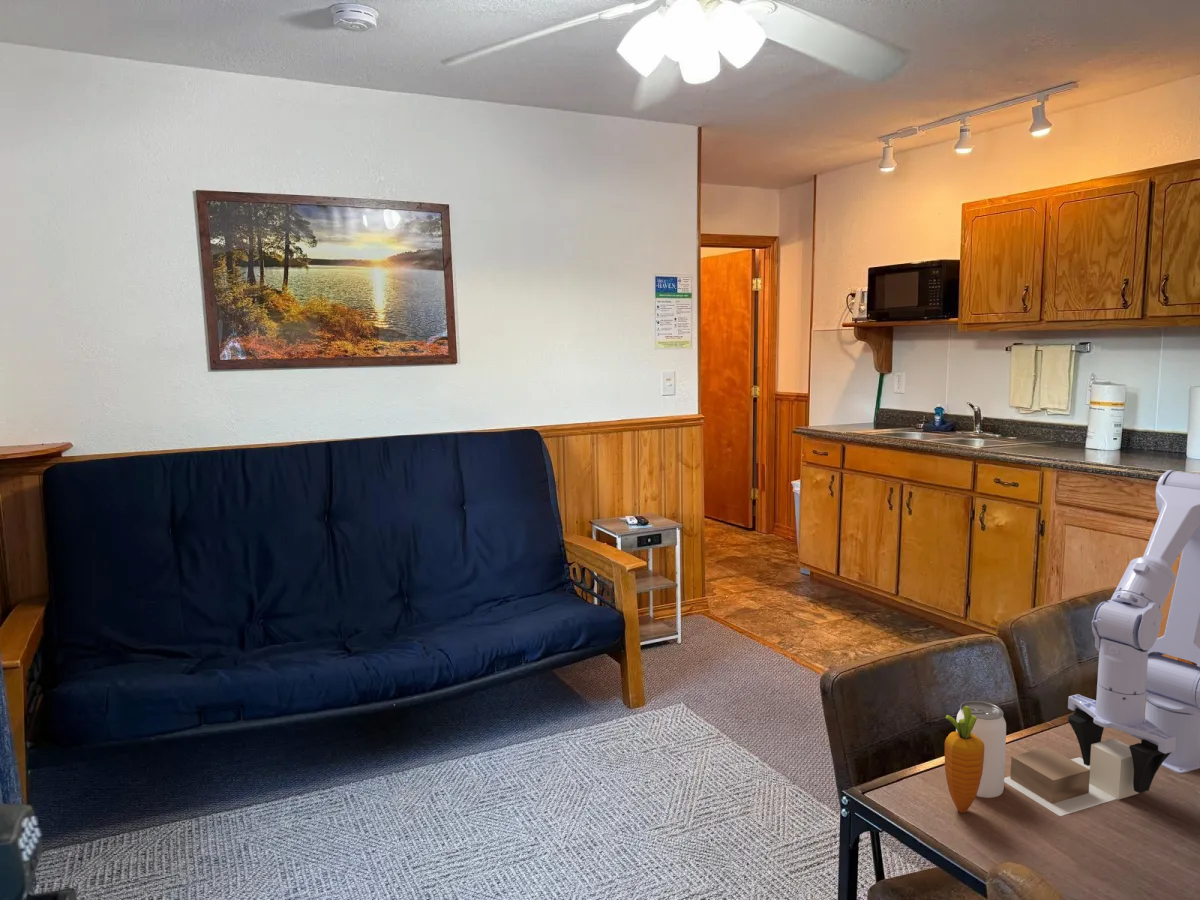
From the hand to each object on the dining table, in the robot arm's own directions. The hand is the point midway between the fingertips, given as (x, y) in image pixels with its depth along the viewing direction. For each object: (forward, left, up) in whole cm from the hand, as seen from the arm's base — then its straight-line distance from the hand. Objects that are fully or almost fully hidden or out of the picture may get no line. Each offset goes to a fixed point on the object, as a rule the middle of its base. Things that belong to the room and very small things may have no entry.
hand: (1115, 776), depth 113 cm
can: (+17, -8, -2) cm, 19 cm away
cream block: (0, 0, -2) cm, 2 cm away
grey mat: (+5, -3, -2) cm, 6 cm away
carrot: (+24, -4, -2) cm, 24 cm away
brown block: (+8, -4, -2) cm, 9 cm away
